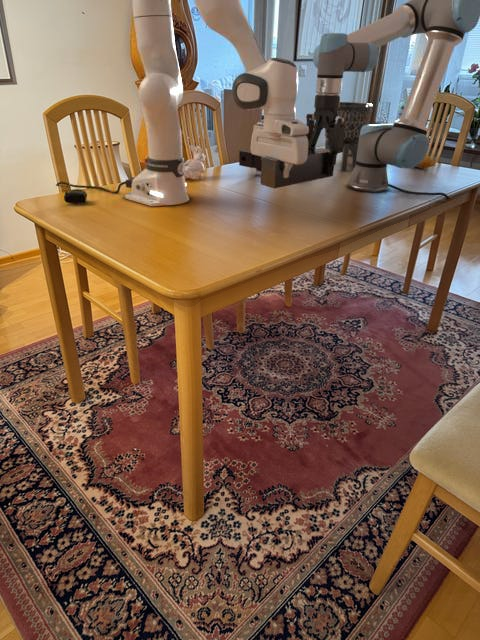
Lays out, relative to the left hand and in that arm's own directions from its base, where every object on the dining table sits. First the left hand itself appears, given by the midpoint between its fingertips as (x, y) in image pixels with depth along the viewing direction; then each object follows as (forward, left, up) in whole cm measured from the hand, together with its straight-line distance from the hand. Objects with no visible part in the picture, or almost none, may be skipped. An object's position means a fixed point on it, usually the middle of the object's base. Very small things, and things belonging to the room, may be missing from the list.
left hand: (276, 175), depth 134 cm
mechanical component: (-24, +60, -13) cm, 66 cm away
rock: (-7, +123, -13) cm, 123 cm away
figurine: (-50, +31, -13) cm, 61 cm away
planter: (-5, +88, -13) cm, 89 cm away
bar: (+4, +9, -3) cm, 10 cm away
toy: (+26, +109, -13) cm, 113 cm away
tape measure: (-63, -19, -13) cm, 67 cm away
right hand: (+7, +19, -2) cm, 20 cm away
